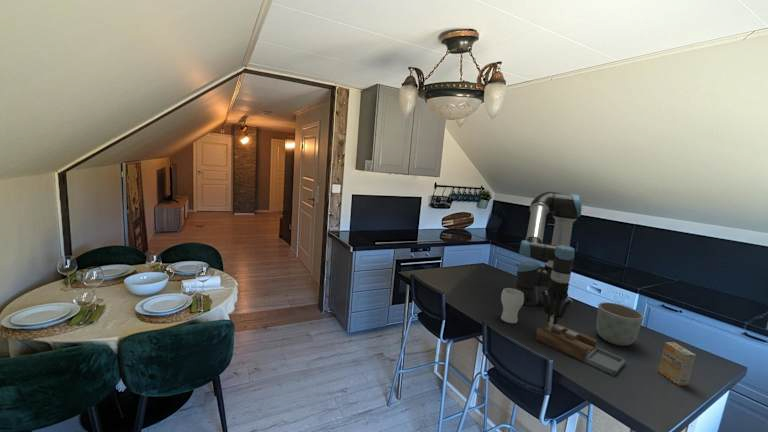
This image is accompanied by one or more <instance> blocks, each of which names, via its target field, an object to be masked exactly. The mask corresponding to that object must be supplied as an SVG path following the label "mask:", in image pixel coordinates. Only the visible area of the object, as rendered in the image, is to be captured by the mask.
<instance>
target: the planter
mask: <svg viewBox="0 0 768 432" xmlns="http://www.w3.org/2000/svg"><path fill="white" fill-rule="evenodd" d="M596 315H597V317H596V325H595V326H596V330H597V333H598V335H599V336H600V337H601V338H602V339H603V340H604V341H606V342H608V343H610V344H612V345H616V346H619V347H620V346H621V347H625V346H627V347H628V346H630V345H632V344H633V343H634V342H635V341H636V340H637V338H638V336H639V333H640V329H641V326H642V323H643V320H644V315H643V314H642V313H641V312H640V311H638V310H637V309H634V308H631V307H629V306H626V305H623V304H620V303H614V302H606V301H605V302H604V301H603V302H600V303H599V304H598V306H597V314H596Z"/></svg>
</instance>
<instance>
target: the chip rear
mask: <svg viewBox="0 0 768 432" xmlns="http://www.w3.org/2000/svg"><path fill="white" fill-rule="evenodd" d="M557 324H558V323H557ZM557 324H556V325H553V326H552V328H551V332H553V333H556V334H558V335H560V336H563V335H564V330H565V328H564V327H565V326H564V327H561V326H562V325H561V326H559V325H560V324H559V325H557Z"/></svg>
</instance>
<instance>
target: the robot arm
mask: <svg viewBox="0 0 768 432" xmlns="http://www.w3.org/2000/svg"><path fill="white" fill-rule="evenodd" d="M582 206H583V205H582V197H581V196H580V195H579V194H576V193H566V192H565V193H564V192H555V191H546V192H545V191H544V192H543V193H540V194H538V195H537V196H536V197H535V198H534V199H533V200H532V201H531V203H530V205H529V212H530V216H529V221H528V227H527V232H526V233H527V234H526V237H525V239H524V240H523V239H522V240H521V242H520V247H519V255H520V256H524V257H528V258H535V259H538V260H539V259H541V260H545V261H547V262H546V263H544V266H542V265H541V263H540V262H537V261H533V260H532V261H531V260H527V261H526V260H525V261H521V262H519V263H518V264H517V265H518V266H517V268H516V275H515V284H514V286H513V288H512V289H517V290H519V291H521V292H523V294H524V302H523V305H522V306H527V307H528V306H529V307H533V306H534V307H535V306H537V305H538V303H539V298H538V294H537V293H538V292H537V289H538V287H540V288H543V289H544V290H542V291H541V295H542V297H543V309H544V310H543V311H544V313H545V314H547V315H548V317H547V322H549V327H548V330H550V331H551V328H552V326H553V325H556V324H559V323H558V321H559V319H562V318H563V317H565V314H566V312H567V310H568V308H570V307H569V306H570V304H572V303H573V302H574V300H573V299H572V298H570V297H569V293H568V291H569V286H570V283H569V282H570V280H571V275H572V269H573V264H574V258H575V252H576V251H575V248H574V247H572V246H570V243H571V236H572V229H573V225H574V222H575V221H577V220H578V217H581V216H582ZM550 213H551V214H552V218H554V220H555V221H554V227H553V233H552V239H551V244H548V243H543V239H544V234H545V233H544V232H545V228H546V227H545V226H546V219H547V215H548V214H550ZM545 289H546V290H545ZM549 297H550V298H549ZM564 300H565V303H564V304H563V301H564ZM549 301H550V302H549ZM562 304H563V307H562V308H561V306H562Z"/></svg>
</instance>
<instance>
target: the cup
mask: <svg viewBox="0 0 768 432" xmlns="http://www.w3.org/2000/svg"><path fill="white" fill-rule="evenodd" d="M500 300H501V304H502V313H501V317H500V319H501V320H502V321H503V322H505V323H509V324H517V323H518V313H519V310H520V309H521V308H522V307H523V306H524V305H523V302H524V294H523V292H521V291H519V290H517V289H513V288H511V287H506V288H503V290H502V292H501V296H500Z"/></svg>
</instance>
